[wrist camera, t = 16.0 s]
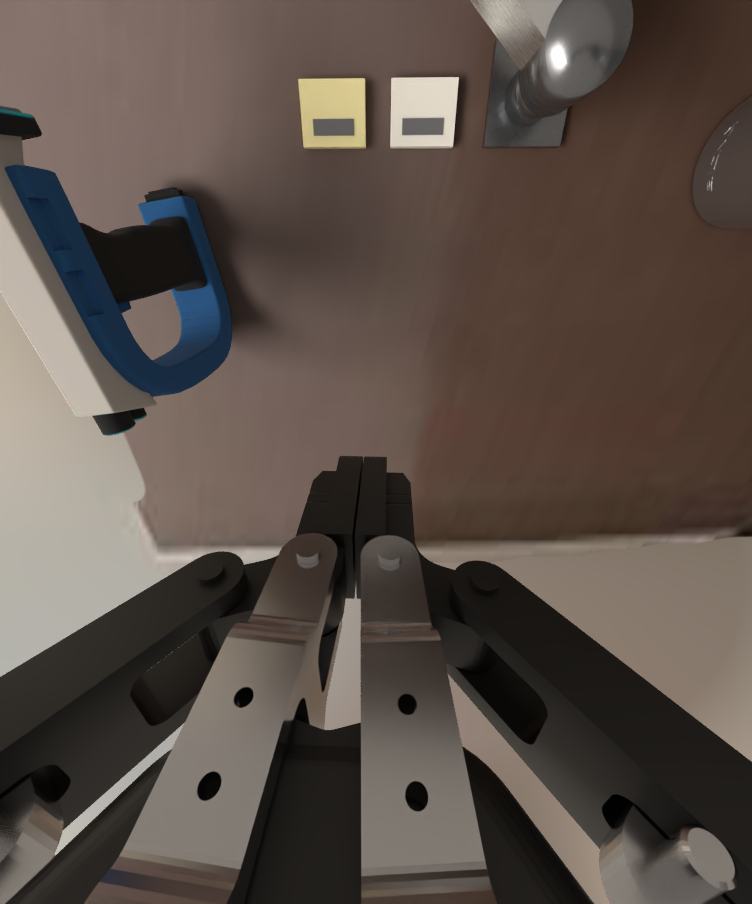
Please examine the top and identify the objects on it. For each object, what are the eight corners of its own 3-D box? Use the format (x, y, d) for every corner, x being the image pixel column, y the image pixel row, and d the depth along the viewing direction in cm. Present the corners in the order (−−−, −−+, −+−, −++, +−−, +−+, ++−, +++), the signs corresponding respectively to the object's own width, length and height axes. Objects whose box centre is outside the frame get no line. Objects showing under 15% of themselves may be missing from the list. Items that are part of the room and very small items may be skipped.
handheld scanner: (187, 159, 31) (-63, 75, 14) (248, 349, 39) (135, 438, 22) (138, 169, 31) (-160, 100, 15) (208, 354, 40) (68, 446, 23)
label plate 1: (365, 81, 28) (364, 77, 27) (366, 148, 30) (365, 146, 29) (300, 82, 28) (297, 78, 28) (305, 149, 30) (303, 147, 30)
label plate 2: (457, 80, 28) (459, 76, 27) (451, 148, 30) (453, 146, 29) (391, 81, 28) (391, 77, 27) (390, 148, 30) (390, 146, 29)
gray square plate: (578, 41, 27) (613, 5, 22) (556, 147, 30) (585, 133, 25) (494, 42, 27) (514, 6, 23) (482, 148, 30) (497, 134, 26)
